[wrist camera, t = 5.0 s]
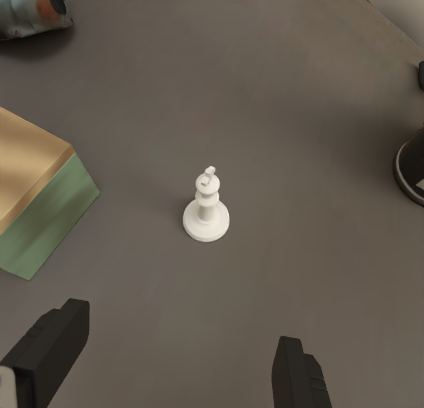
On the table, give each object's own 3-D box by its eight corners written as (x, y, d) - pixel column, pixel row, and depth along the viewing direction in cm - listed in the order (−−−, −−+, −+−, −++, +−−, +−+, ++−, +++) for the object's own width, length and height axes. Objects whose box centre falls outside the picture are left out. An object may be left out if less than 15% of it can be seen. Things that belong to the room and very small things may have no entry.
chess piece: (174, 229, 34) (165, 183, 25) (195, 192, 36) (194, 136, 27) (217, 249, 33) (224, 209, 24) (236, 210, 35) (249, 159, 26)
